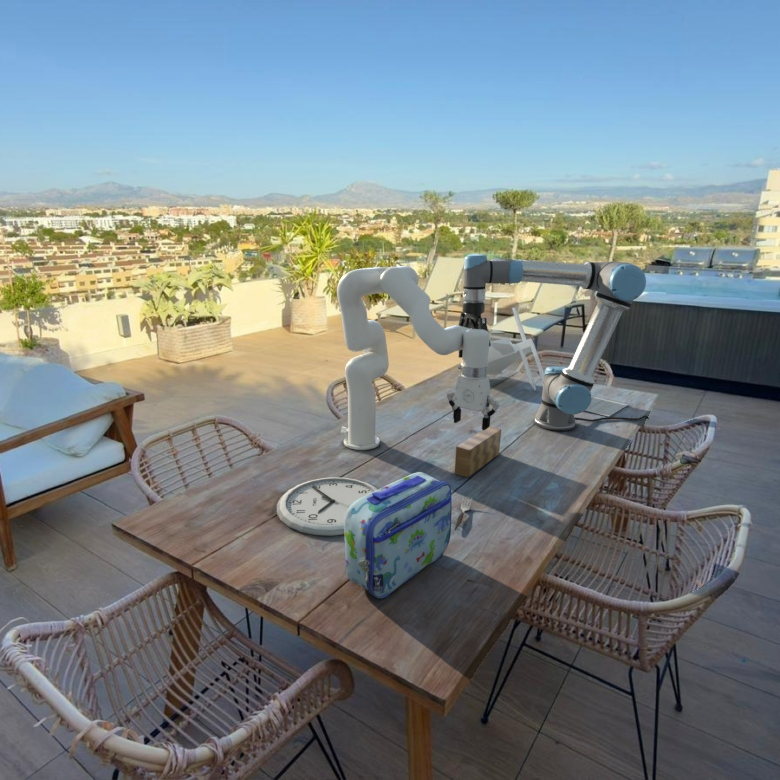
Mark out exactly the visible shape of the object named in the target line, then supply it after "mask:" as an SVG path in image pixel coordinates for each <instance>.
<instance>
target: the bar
mask: <svg viewBox="0 0 780 780" xmlns="http://www.w3.org/2000/svg"><path fill="white" fill-rule="evenodd" d="M501 438H502V429H501V428H498V427H494V426H491V425H490V426H489V427H488V428H487V429H486V430H482V429H481V430H480V431H479V432H477V433H475V434H474V435H472V436H471V437H469V438H467V439H466V440H464V441H462V442H461V443H459V444H458V445H457V446H456V447H455V460H454V461H455V462H454V474H455V475H458V476H462V477H464V478H469V477H470V476H471V475H473V474H475V473H476V472H477V471H478V470H480V469H481V468H483V467H484V466H485V465H487V464H488V463H489V462H490V461H492V460H493V459H495V458H496V457H498V456H499V455H500V449H501Z"/></svg>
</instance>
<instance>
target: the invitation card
mask: <svg viewBox="0 0 780 780" xmlns="http://www.w3.org/2000/svg"><path fill="white" fill-rule="evenodd" d="M628 406H629V404H627V403H623V402H618V401H614V400H609V399H605V398H601V397H596V396H593V397H592V399H591V403H590V405H589V407H588V408H587V409H586V410H585V411H584V412H587V413H593V414H596V415H600V416H604V417H612V416H613V415H614V414H616V413H617V412H619V411H621V410H623V409H624V408H626V407H628Z"/></svg>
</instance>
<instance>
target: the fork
mask: <svg viewBox="0 0 780 780" xmlns="http://www.w3.org/2000/svg"><path fill="white" fill-rule="evenodd" d="M465 497H466V495H464V496H463V499H462V502H461V505H460V510H461V511H462V512H461V513H460V514H459V516H458V517H457V520H456V524H455V527H454V531H457V529H458V527H459V526H460V524H461V523H462V521H463V518H464V515H465V514H464V513H465V512H467V511H470V510H471V508H472V501H473V498H471V496H468V497H466V498H465ZM470 498H471V499H470ZM467 499H468V500H467Z"/></svg>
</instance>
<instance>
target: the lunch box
mask: <svg viewBox="0 0 780 780" xmlns="http://www.w3.org/2000/svg"><path fill="white" fill-rule="evenodd" d="M377 489H378V490H376V491H374V492H372V493H370V494H368V495H366V496H364V497H362V498H360V499H358V500H356V501H355V502H354V503H353V504H352V505H351V506H350V507H349V509H348V511H347V513H346V516H345V520H344V534H343V536H344V537H343V539H344V555H345V556H344V565H345V572H346V576H347V579H348V580H349V581H351V582H353V583H354V584H357V585H359V586H360V587H362V588H363V589H365V590H366V591H368V593H369V594H370V596H373V597H374V598H376V599H385V598H387V597H388V596H390V595H391V594H392V593H393V592H394V591H396V590H397V589H398V588H399V587H400V586H402V585H403V584H405V583H407V582H408V581H409V580H410V579H412V578H414V576H416V575H417V574H418V573H419V572H420V571H421V570H423V569H424V568H426V567H427V566H429V565H431V564H433V563H435V562H436V561H437V560H439V559H440V558H441V557H442V556H443V554H445V552H446V550H447V548H448V546H449V543H450V540H451V535H452V534H451V533H452V515H453V514H452V511H453V510H452V509H453V508H452V507H453V505H452V487H451V484H450V483H449V482H448V481H445V480H438V479H436V478H434V477H432V476H431V475H429V474H427V473H424V472H422V471H417V472H414V473H411V474H409V475H407V476H404V477H401V478H399V479H397V480H395V481H393V482H391V483H388V484H386V485H385V486H383V487H380V488H377Z"/></svg>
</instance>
